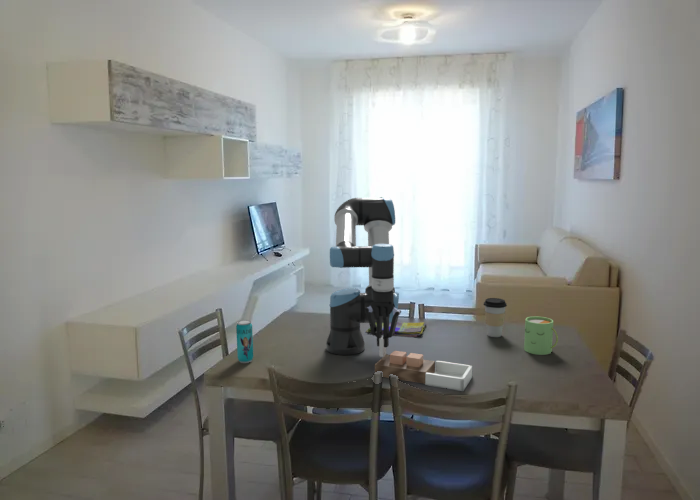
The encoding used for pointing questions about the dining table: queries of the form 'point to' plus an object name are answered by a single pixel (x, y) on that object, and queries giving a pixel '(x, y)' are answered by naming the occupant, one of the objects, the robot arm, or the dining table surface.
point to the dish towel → (406, 329)
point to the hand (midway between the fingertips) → (382, 355)
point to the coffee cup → (494, 316)
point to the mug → (539, 335)
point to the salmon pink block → (398, 357)
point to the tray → (450, 376)
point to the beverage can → (244, 341)
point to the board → (405, 370)
